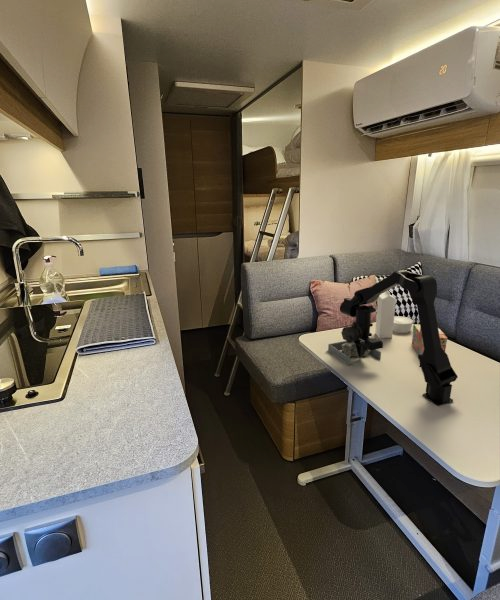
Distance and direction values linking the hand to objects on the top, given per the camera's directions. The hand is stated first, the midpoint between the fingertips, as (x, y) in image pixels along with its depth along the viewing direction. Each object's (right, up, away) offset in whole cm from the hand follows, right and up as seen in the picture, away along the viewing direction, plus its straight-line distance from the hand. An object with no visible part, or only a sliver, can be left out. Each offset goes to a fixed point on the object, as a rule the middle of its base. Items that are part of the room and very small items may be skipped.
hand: (360, 356), depth 140 cm
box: (-1, 0, +4) cm, 4 cm away
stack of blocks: (+28, 0, +3) cm, 28 cm away
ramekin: (+28, +8, +29) cm, 42 cm away
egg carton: (0, 0, +6) cm, 6 cm away
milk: (+18, +6, +23) cm, 30 cm away
